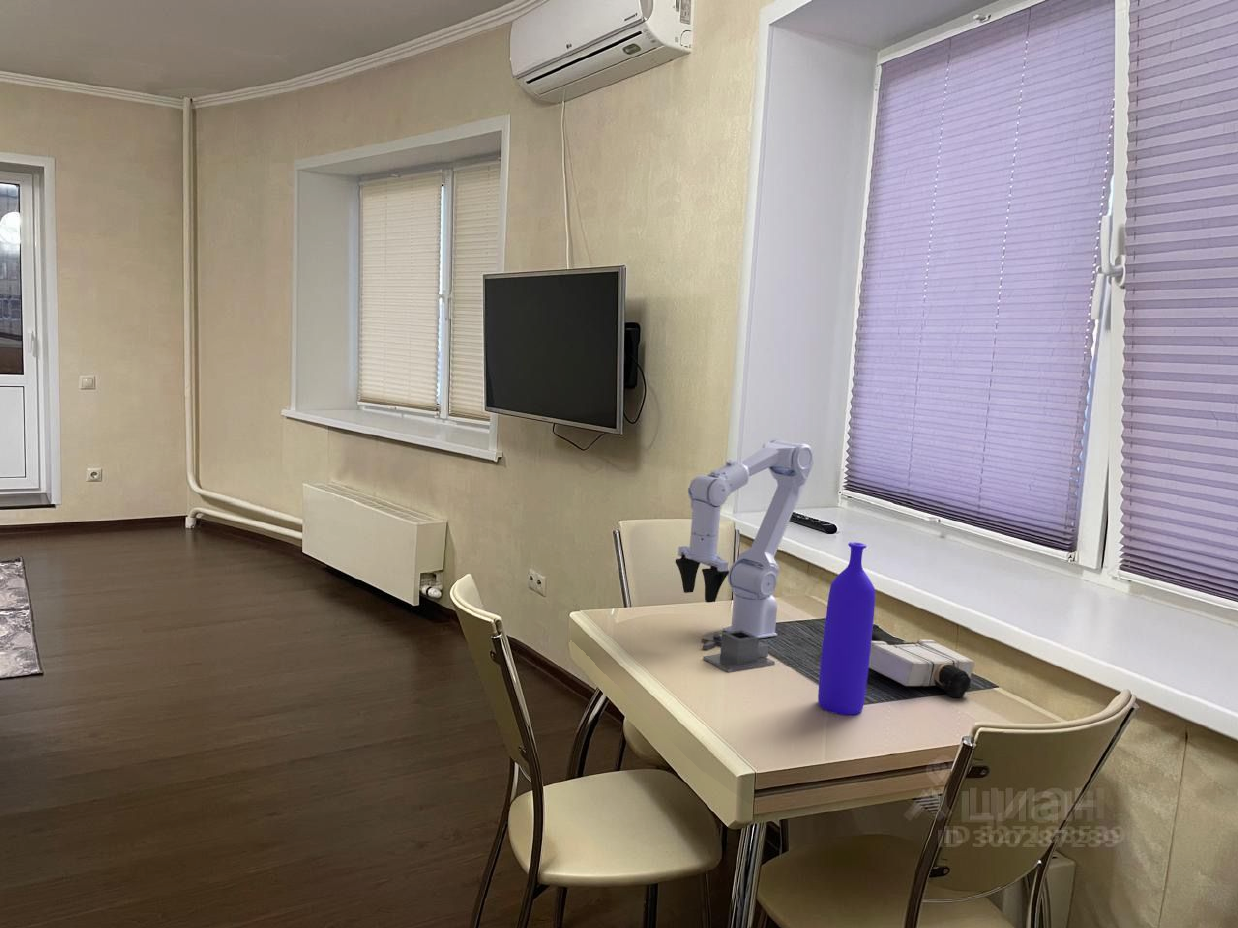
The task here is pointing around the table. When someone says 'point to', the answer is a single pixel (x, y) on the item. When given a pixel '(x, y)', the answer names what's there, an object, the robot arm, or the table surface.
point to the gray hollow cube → (739, 647)
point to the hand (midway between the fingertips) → (699, 596)
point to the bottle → (847, 639)
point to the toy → (920, 663)
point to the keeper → (732, 667)
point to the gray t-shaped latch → (712, 640)
